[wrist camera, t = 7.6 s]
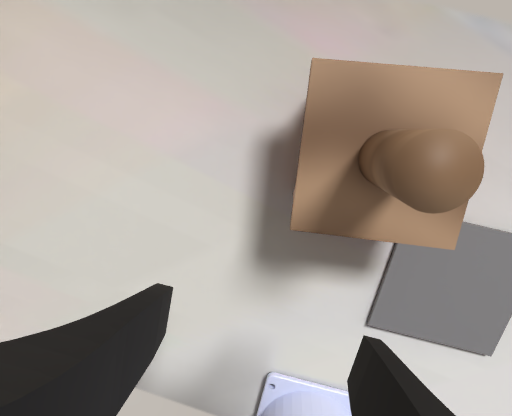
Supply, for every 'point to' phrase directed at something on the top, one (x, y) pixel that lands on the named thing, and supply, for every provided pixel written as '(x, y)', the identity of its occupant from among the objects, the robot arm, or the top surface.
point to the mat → (449, 291)
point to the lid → (391, 151)
